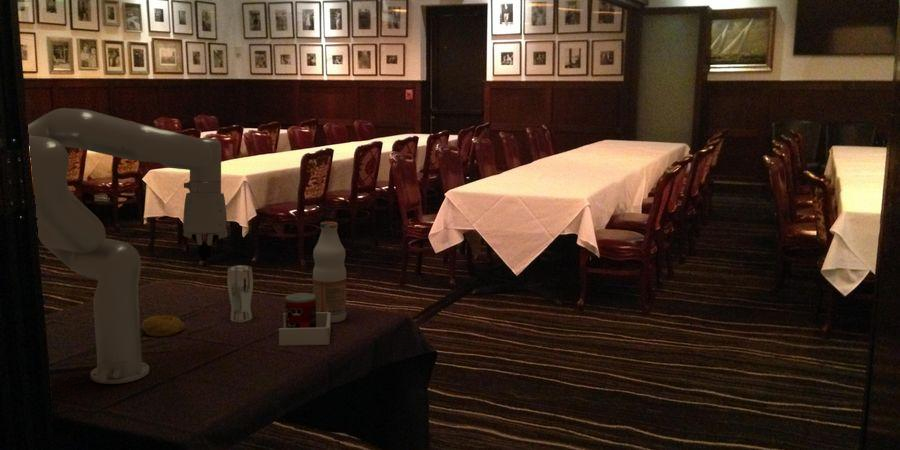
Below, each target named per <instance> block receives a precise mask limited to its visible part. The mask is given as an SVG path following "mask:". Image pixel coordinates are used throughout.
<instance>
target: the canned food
mask: <svg viewBox="0 0 900 450" xmlns="http://www.w3.org/2000/svg"><path fill="white" fill-rule="evenodd" d="M284 299H285V300H284V302H285V303H284V304H285V309H284V311H285V312H284V313H286V328H316V297H315V295H313V293H310V292H309V293H308V292H297V293H289V294H287V295H286V296H285V298H284Z"/></svg>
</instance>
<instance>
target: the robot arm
mask: <svg viewBox="0 0 900 450" xmlns="http://www.w3.org/2000/svg"><path fill="white" fill-rule="evenodd" d="M27 125H28V134H29V145H30V158H31V166H32V177H33V186H34V195H35V204H36V216H35V217H36V218H37V220H36V223H37V227H38V235H37V237H38V239H39V241H40V243H41V244H42V245H43V246H44V247H45V248H46V249H47V250H48V251H50V253H52V255H54V256H55V257H57V259H59V260H60V261H61V262H62V263H63V264H64V265H65V266H67V267H68V268H69V269H70V270H71V271H73V272H74V273H76V274H77V275H80V276H83V277H86V278H90V279H94V280H97V284H96V285H97V286H96V288H95V292H94V294H93V300H92V302H93V305H92V306H93V316H94V319H93V320H94V332H95V333H94V334H95V335H94V336H95V347H96V367H95V368H93V369H92V370H91V371H90V379H91V381H93V382H95V383H98V384H104V385H106V384H107V385H117V384H126V383H131V382H134V381H137V380H141V379H143V378H144V377H146V376H147V375H148V374H149V373H150V366H149V365H148V364H147V363H146V362H143V359H142V341H141V324H140V323H141V321H140V307H139V305H140V304H139V283H140V282H139V281H140V280H139V279H140V274H141V268H142V267H141V266H142V262H141V261H142V260H141V256H140V254H139V251H138V250H137V249H136V248H135V247H134V246H133V245H131V244H129V243H127V242H125V241H121V240H119V239H112V238H106V235H107V234H106V233H107V232H106V229H105V226H104V224H103V223H102V221H101V220H100V219H99V217H98V216H97V215H96V214H94V213H93V212H92V211H91V210H90V209H89V208H88V207H87V206H86V205H85V204H84V203H82V201H81V200H79V198H77V196H76V195H75V194H74V193H73V192H72V191H71V189H70V188H69V184H68V171H69V164H70V159H69V154H68V150H67V149H66V148H71V149H72V148H73V149H80V150H85V151H89V152H95V153H98V154H102V155H106V156H107V155H108V156H111V157H116V158H119V159H124V160H129V161H135V162H147V163H158V164H159V163H160V164H161V165H162V166H163V167H167V168H171V169H176V170H177V169H178V170H186V171H189V180H188V181H187V182H184V183H183V188H184V189H188V192H186V194H185V197H184V205H183V218H182V219H183V220H182V227H183V229H182V230H183V233H182V235H183V236H184V238H189V239H192V240H193V241H194V242H195V243H196V244H197V245H198V257H199V258H200V259H201V262H208V261H210V260H211V258H212V257H213V244H214V243H215V242H216V241H218V240H221V239H224V238H227V237H228V230H227V229H228V228H227V227H228V223H227V221H228V219H227V217H228V216H227V205H226V199H225V195H224V193H223V192H222V143H221V141H220V140H219V139H217V138H212V137H211V138H210V137H204V138H203V137H194V136H191V135H190V136H189V135H187V134H182V133H180V132H179V133H178V132H176V131H171V130H166V129H161V128H159V127H155V126H151V125H146V124H142V123H138V122H135V121H130V120H126V119H123V118H119V117H115V116H112V115H108V114H105V113H101V112H97V111H93V110H89V109H82V108H70V107H69V108H67V107H61V108H56V109H52V110H51V111H49V112H47V113H46V114H43V115H42V116H39V118H37V119H35V120H34V121H32V122H30V123H28V124H27ZM204 235H207V241H206V242H205V238H204Z"/></svg>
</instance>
